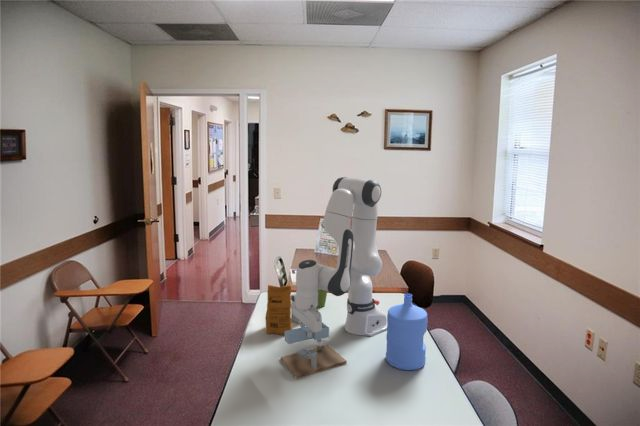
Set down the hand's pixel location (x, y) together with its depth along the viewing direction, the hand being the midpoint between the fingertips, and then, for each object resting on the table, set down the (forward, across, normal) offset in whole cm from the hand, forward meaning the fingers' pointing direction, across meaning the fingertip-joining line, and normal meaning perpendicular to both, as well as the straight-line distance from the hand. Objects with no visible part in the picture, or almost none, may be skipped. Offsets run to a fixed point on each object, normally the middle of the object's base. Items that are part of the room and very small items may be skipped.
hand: (306, 333), depth 173 cm
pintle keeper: (+9, -5, 0) cm, 11 cm away
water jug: (+10, -21, -34) cm, 41 cm away
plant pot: (+10, +45, -30) cm, 55 cm away
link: (+2, 0, 0) cm, 2 cm away
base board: (+11, -4, -1) cm, 11 cm away
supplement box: (+11, +34, -14) cm, 39 cm away
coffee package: (+11, +28, 0) cm, 30 cm away
